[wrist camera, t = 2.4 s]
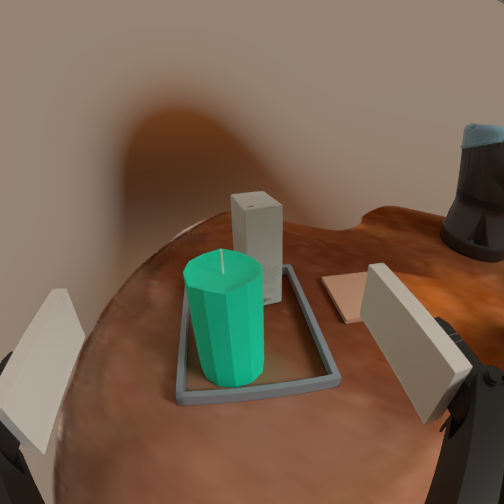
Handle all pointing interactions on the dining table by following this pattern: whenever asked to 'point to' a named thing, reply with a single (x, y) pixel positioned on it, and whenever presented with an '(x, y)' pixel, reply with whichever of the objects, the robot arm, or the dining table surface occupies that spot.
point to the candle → (227, 315)
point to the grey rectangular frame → (262, 390)
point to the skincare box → (260, 237)
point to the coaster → (347, 294)
